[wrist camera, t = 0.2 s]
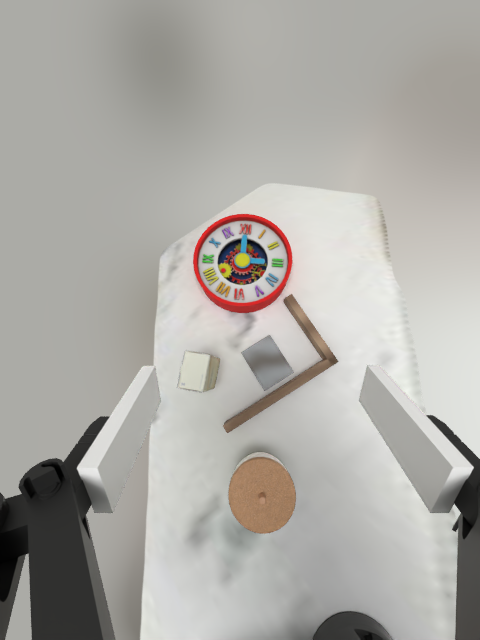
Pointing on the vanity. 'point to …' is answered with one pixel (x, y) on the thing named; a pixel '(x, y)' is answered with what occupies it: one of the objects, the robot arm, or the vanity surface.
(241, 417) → the walnut l-shaped corner bracket
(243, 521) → the lidded jar
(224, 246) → the toy clock
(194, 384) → the skincare box
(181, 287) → the vanity surface
